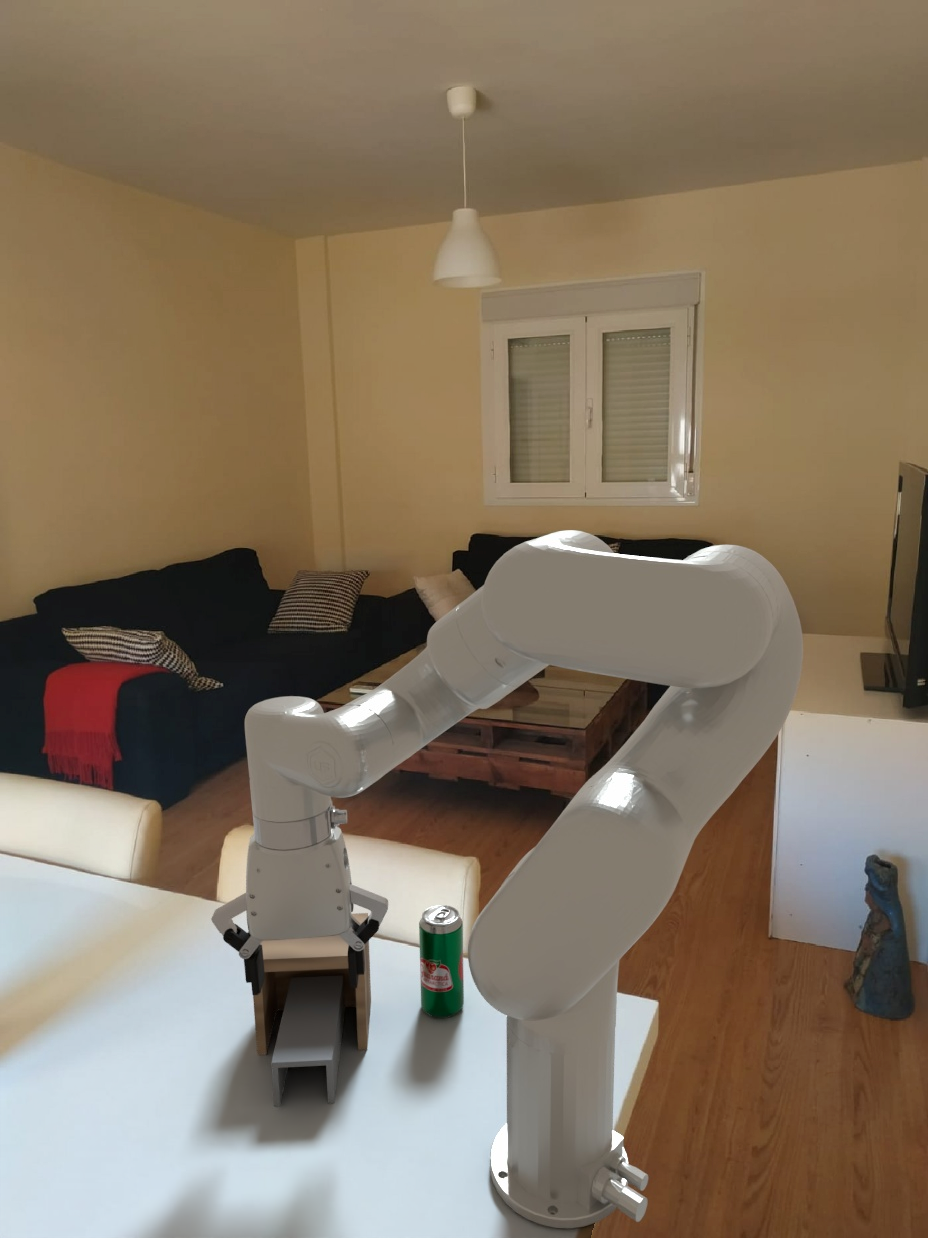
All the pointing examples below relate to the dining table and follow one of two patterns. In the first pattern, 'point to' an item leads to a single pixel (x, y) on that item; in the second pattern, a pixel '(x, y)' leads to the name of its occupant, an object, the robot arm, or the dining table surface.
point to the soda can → (441, 961)
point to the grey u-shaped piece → (310, 1030)
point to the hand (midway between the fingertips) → (307, 983)
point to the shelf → (309, 962)
